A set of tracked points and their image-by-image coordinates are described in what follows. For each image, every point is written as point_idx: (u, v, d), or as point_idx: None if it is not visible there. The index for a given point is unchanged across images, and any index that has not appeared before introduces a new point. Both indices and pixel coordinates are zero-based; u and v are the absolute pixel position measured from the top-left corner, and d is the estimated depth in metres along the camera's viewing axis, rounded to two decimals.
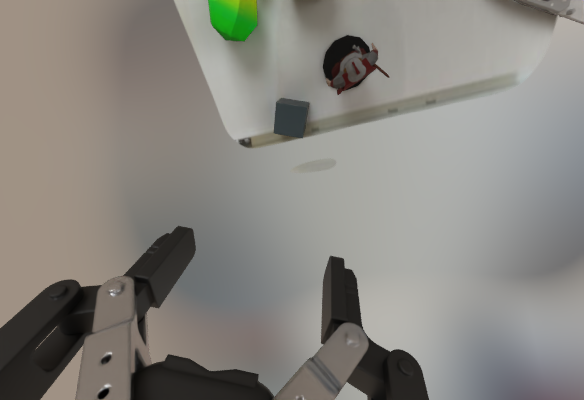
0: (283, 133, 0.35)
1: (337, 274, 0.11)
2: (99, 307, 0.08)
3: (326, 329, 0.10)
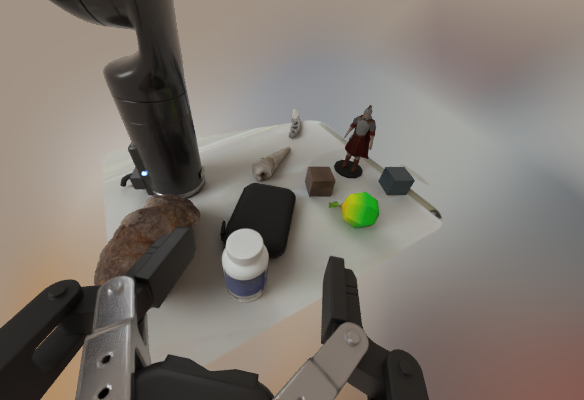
0: (410, 175, 0.48)
1: (337, 274, 0.11)
2: (99, 307, 0.08)
3: (326, 329, 0.10)
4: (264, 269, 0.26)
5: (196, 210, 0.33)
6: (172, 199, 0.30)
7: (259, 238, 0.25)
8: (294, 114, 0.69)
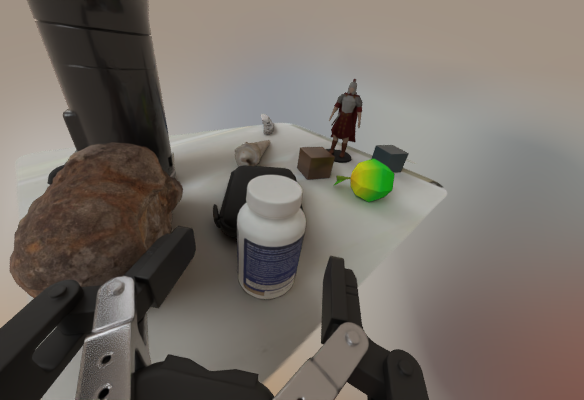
0: (402, 150, 0.46)
1: (337, 274, 0.11)
2: (99, 307, 0.08)
3: (326, 329, 0.10)
4: (304, 230, 0.18)
5: (178, 181, 0.24)
6: None
7: (293, 182, 0.17)
8: (263, 117, 0.65)
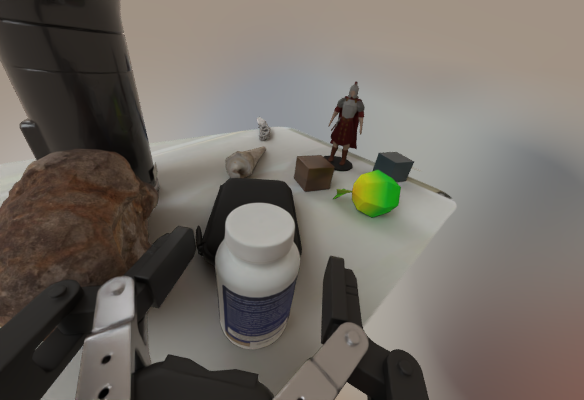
0: (407, 158, 0.43)
1: (337, 274, 0.11)
2: (99, 307, 0.08)
3: (326, 329, 0.10)
4: (297, 271, 0.14)
5: (152, 186, 0.22)
6: None
7: (284, 213, 0.14)
8: (259, 121, 0.62)
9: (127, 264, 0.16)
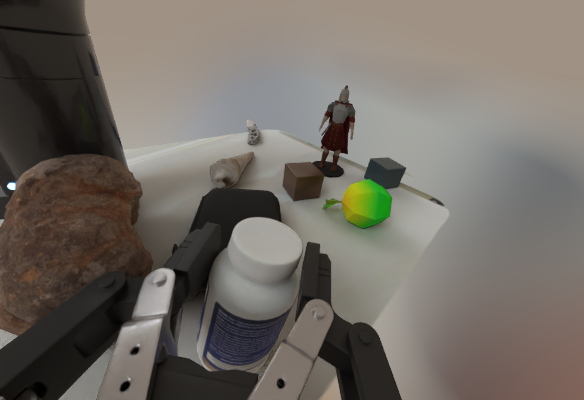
0: (399, 164, 0.42)
1: (312, 257, 0.12)
2: (142, 295, 0.09)
3: (298, 307, 0.11)
4: (296, 295, 0.14)
5: None
6: None
7: (291, 232, 0.14)
8: (249, 124, 0.60)
9: None
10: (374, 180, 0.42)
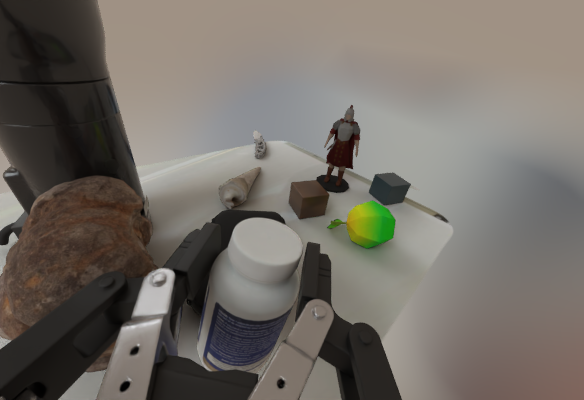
0: (403, 180, 0.42)
1: (312, 258, 0.12)
2: (141, 295, 0.09)
3: (298, 307, 0.11)
4: (296, 296, 0.14)
5: (144, 217, 0.23)
6: None
7: (291, 232, 0.14)
8: (256, 135, 0.61)
9: None
10: (379, 196, 0.43)
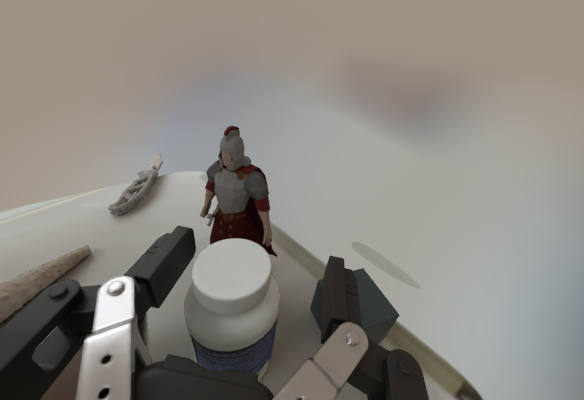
0: (383, 298, 0.18)
1: (337, 274, 0.11)
2: (99, 307, 0.08)
3: (326, 329, 0.10)
4: (276, 315, 0.13)
5: None
6: None
7: (261, 252, 0.13)
8: (151, 164, 0.37)
9: None
10: None
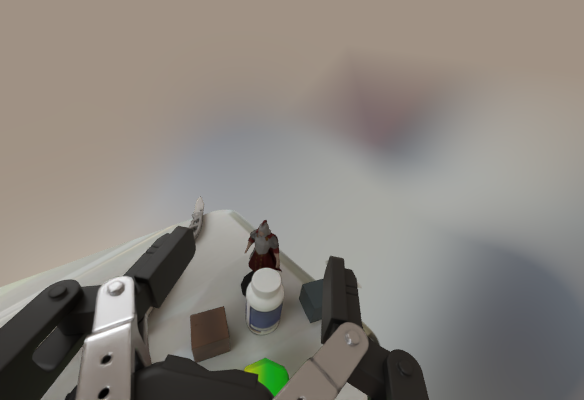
0: None
1: (337, 274, 0.11)
2: (99, 307, 0.08)
3: (326, 329, 0.10)
4: (282, 299, 0.32)
5: None
6: None
7: (276, 273, 0.32)
8: (197, 206, 0.56)
9: None
10: (306, 309, 0.37)
